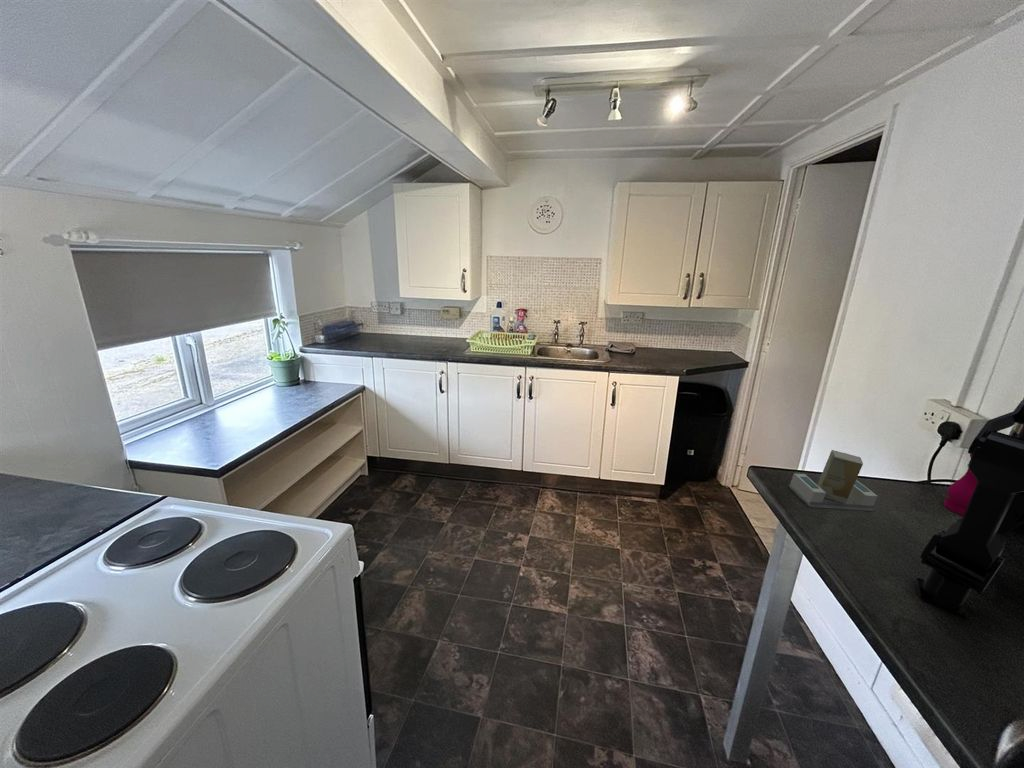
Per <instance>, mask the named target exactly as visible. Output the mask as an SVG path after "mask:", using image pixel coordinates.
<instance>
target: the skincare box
mask: <svg viewBox="0 0 1024 768" xmlns="http://www.w3.org/2000/svg"><path fill="white" fill-rule="evenodd" d="M863 465H864V463H863V460H862V458H861V457H860V456H858V455H854V454H849V453H847V452H842V451H838V450H833V449H831V450H830V453H829V455H828V459H827V461H826V463H825V466H824V468H823V471H822V472H821V475H820V477H819V479H818V482H817V483H816V484H817V485H818V486H819V487H820V488H821V489H822V490H823V491H825V492H826V494H825V496H824V498H827V499H831V500H834V501H837V502H841V503H844V504H845V503H846V501H847V499H848V497H849V494H850V492H851V490H852V488H853V486H854V483H855V481H856V480H857V478H858V477H859V475H860V471H861V470H862V468H863Z"/></svg>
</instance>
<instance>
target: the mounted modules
mask: <svg viewBox="0 0 1024 768" xmlns="http://www.w3.org/2000/svg"><path fill="white" fill-rule="evenodd" d="M790 480H791V481H790V482H791V486H792V487H793V488H794V489H795V490H796V491H797V492H798V493H799V494H800V495H801V496H802V497H803V498H804V499H805V500H806V501H807V502H808V503H810V502H821V503H822V502H823V499H824V496H825V494H826V492H825V491H823V490H822V489H821V488H820V487H819V486H818V485H817V484H818V483H816V482H814V481H813V480H812V479H811V478H810V477H809V476H808V475H807V474H805V473H795V472H794V473H793V475H792V477H791V479H790ZM849 498H850V499H852V500H853V501H854V502H855V503H856V504H859V505H867V506H874V505H875V503H876V501H877V499H878V495H877V494H875V493H874V492H873V491H872V490H871V489H869V488H868V487H867V486H866V485H864V484H863V483H862V482H860V481H858V480H857V479H856V481H855V483H854V486H853V488H852V490H851V492H850V494H849ZM874 507H875V506H874Z"/></svg>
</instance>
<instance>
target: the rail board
mask: <svg viewBox="0 0 1024 768" xmlns="http://www.w3.org/2000/svg"><path fill="white" fill-rule="evenodd" d="M788 487H789V488H790V490H792V491H793V493H794V494H795V495H797V497H799V498H800V500H802V501H803V502H804V504H806V506H808V508H819V509H831V510H832V509H835V510H846V511H847V510H851V511H864V512H866V511H867V512H873V510H874V508H875V506H867V505H859V504H856V503H855V502H854V501H853V500H852V499H850V498H849V497H848V499H847V501H846V503H845V504H844V503H841V502H837V501H834V500H831V499H827V498H824V499H823V502H822V503H821V502H810V503H808V502H807V501H806V500H805V499H804V498H803V497H802V496H801V495H800V494H799V493H798V492H797V491H796V490H795V489H794V488H793V487H792V486H791V481H790V482H789V484H788Z"/></svg>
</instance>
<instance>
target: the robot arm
mask: <svg viewBox="0 0 1024 768" xmlns="http://www.w3.org/2000/svg"><path fill="white" fill-rule="evenodd" d="M1015 424H1019V425H1022V426H1021V429H1020V430H1019V432H1018V434H1017V436H1013V435H1010V434H1007V433H1003V432H999V431H1002V430H1006V429H1009V428H1011V427H1014V426H1015ZM967 454H969V455H970V454H972V456H971V458H970V459H969V461H970V463H969V462H968V464H969V466H967V468H969V469H970V471H971V472H972V473H973V475H974V476H975V477H976V479H977V480H978V482H977V485H976V487H975V490H974V492H973V495H972V497H971V499H970V502H969V504H968V507H967V509H966V511H965V514H964V516H963V515H962V516H963V517H960V518H958V519H957V520H956V521H955V522H953V523H951V525H950V526H949V528H948V529H947V530H946V531H945V530H941V531H940V532H938V533H935V534H933V536H932V537H931V539H930V540H929V541H928V543H927V544H926V545H925V547H924V549H923V551H922V552H921V555H920V557H919V558H920V559H921V561H920V563H921V564H923V565H925V566H928V567H929V568H930V569H929V570H928V573H927V574H926V577H925V578H924V579H923V578H920V577H917V578H915V583H916V587H917V591H918V596H919V599H920V600H921V601H924V602H927V603H929V604H931V605H933V606H935V607H939V608H941V609H943V610H945V611H948V612H951V613H954V614H956V615H958V616H961V617H963V618H968V616H969V614H968V611H967V609H966V606H965V605H966V604H965V601H966V600H967V599H968V597H969V595H970V593H971V591H972V590H973V591H975V592H976V593H978V594H980V595H981V594H982V593H984V591H985V589H987V588H988V586H989V585H990V583H991V582H992V580H993V579H994V577H995V576H996V574H997V572H999V569H1000V568H1001V567H1002V565H1003V563H1004V562H1005V558H1003V557H1002V556H1001V555H1002V553H1003V551H1004V549H1005V544H1006V542H1007V540H1006V537H1005V536H1004V535H1007V534H1009V533H1010V532H1012V531H1013V530H1014V529H1016V528H1018V527H1019V526H1021V525H1022V524H1024V397H1023V399H1022V400H1020V402H1019V403H1018V405H1017V406H1016V407H1015V409H1014V410H1013V411H1010V412H1008V413H1005V414H1002V415H999V416H997V417H994V418H992V419H989V420H988V421H986V423H984V426H983V427H982V428H981V430H979V432H978V433H977V435H976V436H975V437H974V439H973V441H972V442H971V444H970V446H969V448H968V451H967ZM997 532H998V533H997ZM1002 534H1004V535H1002ZM940 556H941V557H940ZM954 563H955V564H954ZM956 564H957V565H956ZM958 565H959V566H958ZM980 576H981V577H980ZM982 577H983V578H982Z"/></svg>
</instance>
